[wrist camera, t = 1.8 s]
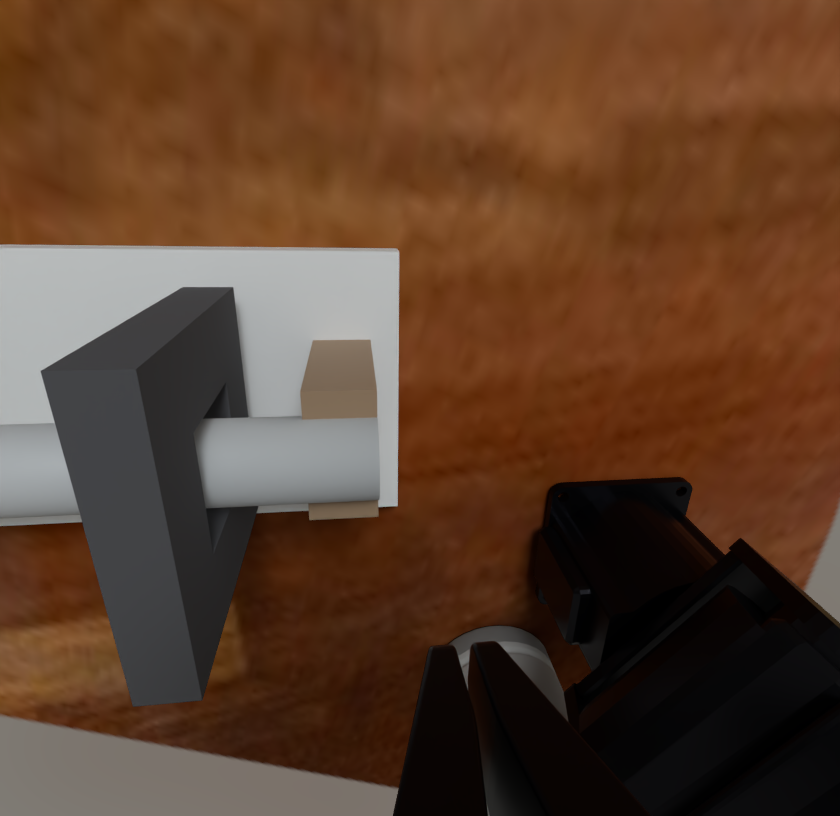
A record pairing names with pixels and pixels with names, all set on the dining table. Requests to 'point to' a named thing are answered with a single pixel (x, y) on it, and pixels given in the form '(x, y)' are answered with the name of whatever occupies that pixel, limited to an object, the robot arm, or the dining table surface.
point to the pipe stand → (261, 359)
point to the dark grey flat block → (156, 483)
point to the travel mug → (517, 658)
